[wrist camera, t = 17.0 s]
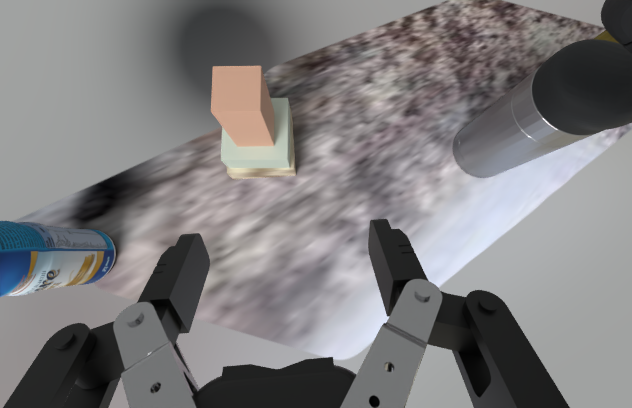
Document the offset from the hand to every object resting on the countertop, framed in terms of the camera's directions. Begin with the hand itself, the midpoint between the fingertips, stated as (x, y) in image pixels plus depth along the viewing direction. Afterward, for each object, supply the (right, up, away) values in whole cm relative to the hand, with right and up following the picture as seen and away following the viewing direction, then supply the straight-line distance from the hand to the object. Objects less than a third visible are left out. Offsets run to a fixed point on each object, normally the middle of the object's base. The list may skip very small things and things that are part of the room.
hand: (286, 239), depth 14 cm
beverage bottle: (-33, -6, +30) cm, 45 cm away
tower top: (-7, +11, +30) cm, 33 cm away
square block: (-7, +12, +26) cm, 29 cm away
